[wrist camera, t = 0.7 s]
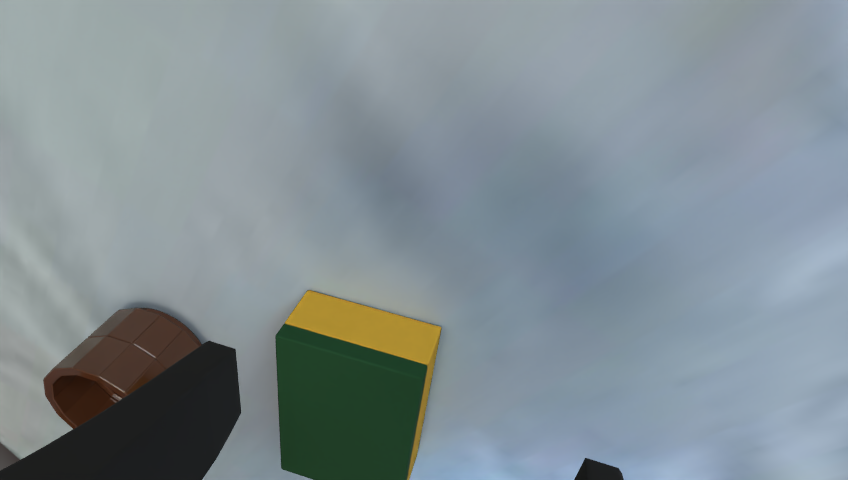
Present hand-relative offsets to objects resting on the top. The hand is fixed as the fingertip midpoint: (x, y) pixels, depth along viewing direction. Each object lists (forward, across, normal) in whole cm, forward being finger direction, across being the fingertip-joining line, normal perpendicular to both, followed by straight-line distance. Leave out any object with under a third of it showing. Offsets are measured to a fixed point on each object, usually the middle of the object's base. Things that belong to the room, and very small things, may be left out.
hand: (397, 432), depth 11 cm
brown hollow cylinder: (+10, +14, +13) cm, 22 cm away
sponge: (+10, +3, +11) cm, 15 cm away
